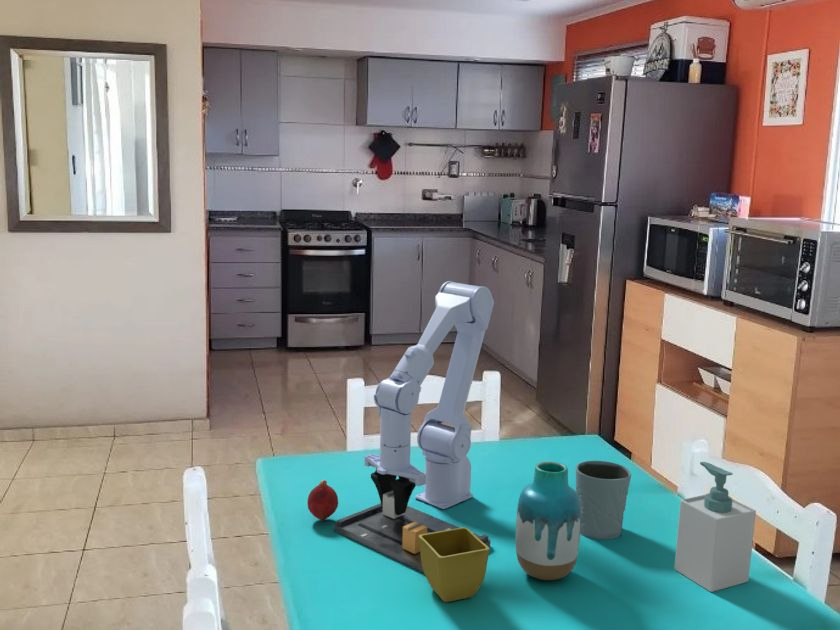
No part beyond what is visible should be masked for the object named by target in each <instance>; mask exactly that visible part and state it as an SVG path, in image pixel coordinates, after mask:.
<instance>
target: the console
mask: <svg viewBox="0 0 840 630" xmlns="http://www.w3.org/2000/svg"><path fill="white" fill-rule="evenodd" d="M413 522H417V523H419V522H422V525H424V526H426V527H427V533H433V532H439V531H445V530H450V529H456V528H461V526H460V527H459V526H457V525H455V524H453V523H450V522H448V521H446V520H443V519H440V518H438V517H436V516H434V515H431V514H429V513H426V512H423V511H421V510H419V509H417V508H414V507H411V506H409V505H407V508H406V512H405V514H404V515H402V516H399V517H397V518H394V519H393V518H391V517H388V516H386V515H384V514H383V509H382V505H381V502H379V503H378V504H375V505H373V506H370V507H367V508H365V509H363V510H360V511H358V512H355V513H352V514H350V515H348V516H345V517H343V518H339V519H336V523H335V524H334V529H333V530H334V532H336V533H338V534H339V535H342V536H344V537H346V538H348V539H351V540H352V541H355V542H357V543H359V544H360V545H363V546H365V547H367V548H369V549H372V550H373V551H376V552H378V553H380V554H382V555H384V556H386V557H388V558H389V559H390V558H391V559H393V560H394V561H396V562H398V563H401V564H403V565H405V566H407V567H410V568H411V569H413V570H416V571H418V572H419V573H422V574H424V575H425V573H424V570H423V567H422V562H421V553H420V552H418V553H416V554H414V553H412V552H410V551H407V550H405V549H403V548H402V540H403V526H406V525H408V524H410V523H413ZM472 533H473V534H474V535H475V536H476V537H477V538H478V539H480V540H481V541H482V542H483V543H484V544H486V545H487V546H488V547H489V548H490V547H491V539H489V535H486V534H482V535H479V534H478V533H474V532H472Z"/></svg>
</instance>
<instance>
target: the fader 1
mask: <svg viewBox="0 0 840 630" xmlns="http://www.w3.org/2000/svg"><path fill="white" fill-rule="evenodd" d="M383 514H384V515H386V516H388V517H391V518H393V519H394V518H397V517H399V516H402V515H404V514H405V513H403V514H401V515H396V514H395V500H394V493H393V490H392V491H390V492H387V493H385V494H383Z"/></svg>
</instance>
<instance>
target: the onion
mask: <svg viewBox="0 0 840 630" xmlns="http://www.w3.org/2000/svg"><path fill="white" fill-rule="evenodd" d="M327 482H328V481H327V480H326V479H322V480H321V481H320V482H319V484H318V485H316V486H315V487H314V488H312V490H310V493H309V494H308V497H307V509H308V511H309V512H310V513H311V515H312V516H314V517H315V518H316V519H318V520H320V521H326V520H327V519H328V518H330V517H331V516H333V514H335V512H336V510H337V509H338V507H339V497H338V494H337V492H336V490H335V489H334V488H333V487H331V486H330V485H329V484H328V483H327Z"/></svg>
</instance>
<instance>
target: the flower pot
mask: <svg viewBox="0 0 840 630" xmlns="http://www.w3.org/2000/svg"><path fill="white" fill-rule="evenodd" d="M473 533H474V532H472V531H471V530H470V529H469V528H467V527H466V526H463V527H460V528H456V529H450V530H445V531H439V532H433V533H427V534H421V535H419V544H420V553H421V562H422V567H423V570H424V573H425V574H424V573H423V574H424V575H425V578H426V579H427V583H428V584H429V585H430V587H431V589H432V590H433V592H434V593H436V594H437V596H438V597H439V598H440V599H441V600H442V601H443V602H444V603H450V602H454V601H458V600H463V599H469V598H472V597H474V595H475V594H477V592H478V591H479V590H480V588H481V586H482V584H483V582H484V580H485V576H486V572H487V566H488V562H489V561H488V560H489V554H490V547H488V546H487V545H486V544H484V543H483V542H482V541H481V540H480V539H478V538H477V537H476V536H475V535H474V534H473Z"/></svg>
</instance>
